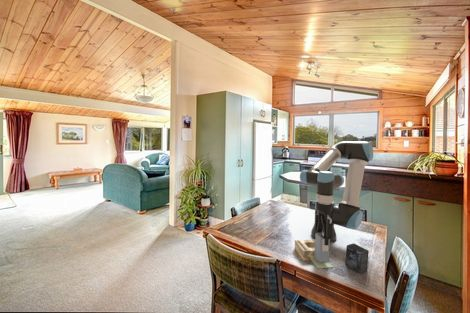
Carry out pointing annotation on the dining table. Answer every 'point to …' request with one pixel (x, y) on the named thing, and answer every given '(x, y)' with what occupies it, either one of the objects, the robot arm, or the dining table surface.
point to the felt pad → (321, 264)
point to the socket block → (305, 249)
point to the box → (357, 258)
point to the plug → (320, 248)
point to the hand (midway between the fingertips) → (322, 247)
